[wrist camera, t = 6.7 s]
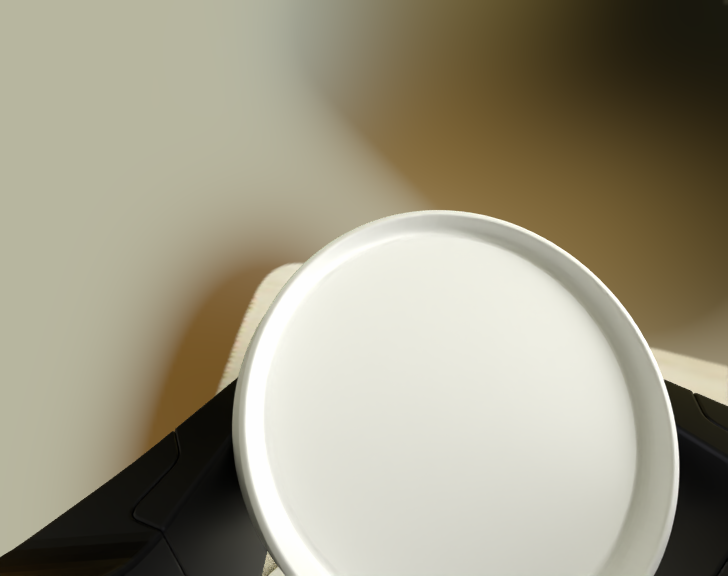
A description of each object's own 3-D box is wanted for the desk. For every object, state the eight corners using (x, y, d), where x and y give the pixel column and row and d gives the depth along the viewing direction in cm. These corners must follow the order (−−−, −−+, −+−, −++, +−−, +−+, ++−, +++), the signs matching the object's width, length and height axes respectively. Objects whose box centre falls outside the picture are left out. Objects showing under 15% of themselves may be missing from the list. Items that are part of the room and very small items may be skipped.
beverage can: (476, 460, 14) (892, 621, 3) (334, 513, 14) (228, 961, 2) (423, 323, 16) (565, 127, 5) (297, 362, 16) (145, 232, 4)
